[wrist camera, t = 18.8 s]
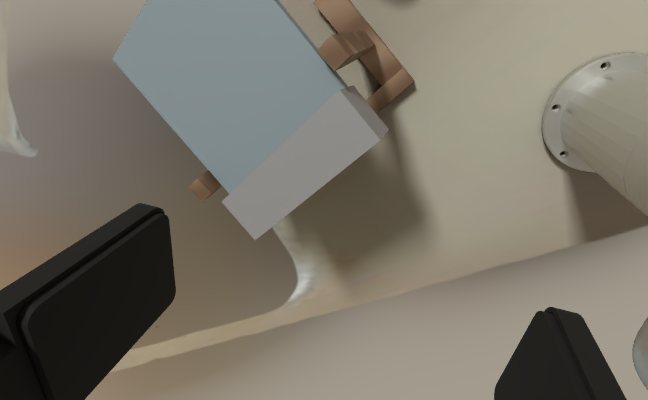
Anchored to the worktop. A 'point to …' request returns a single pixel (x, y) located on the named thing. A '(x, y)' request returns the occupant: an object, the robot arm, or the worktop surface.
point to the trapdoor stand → (339, 52)
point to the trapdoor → (248, 100)
